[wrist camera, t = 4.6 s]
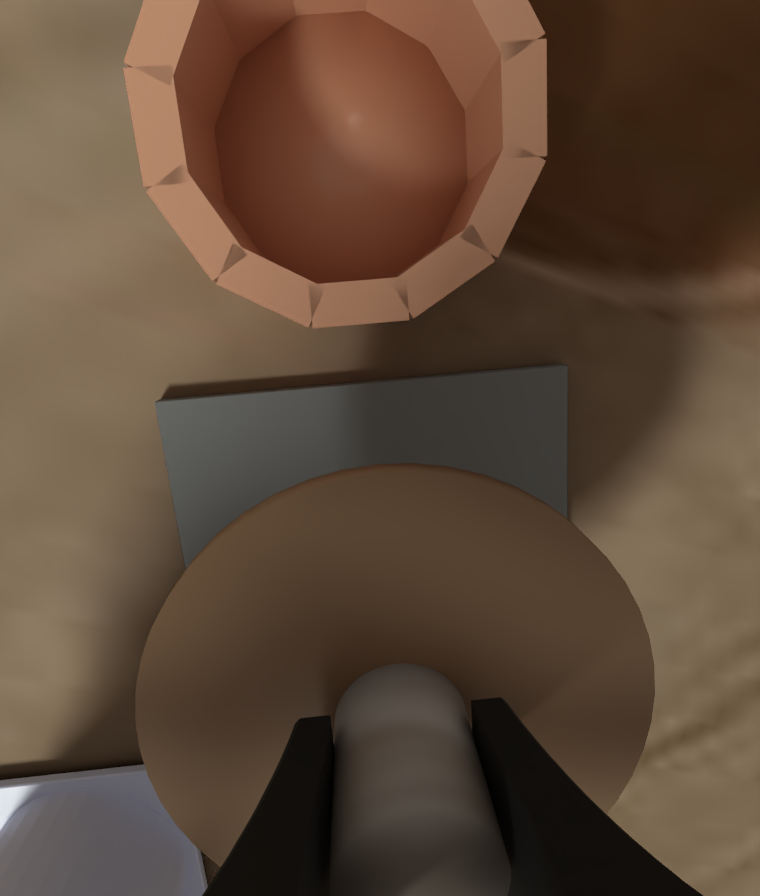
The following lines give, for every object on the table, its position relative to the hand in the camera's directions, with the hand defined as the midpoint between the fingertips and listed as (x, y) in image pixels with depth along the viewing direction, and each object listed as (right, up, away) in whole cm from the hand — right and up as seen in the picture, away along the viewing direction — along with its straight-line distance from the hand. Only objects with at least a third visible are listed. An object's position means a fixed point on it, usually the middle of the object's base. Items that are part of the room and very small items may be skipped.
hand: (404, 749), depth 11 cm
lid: (0, 0, +1) cm, 2 cm away
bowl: (-2, +14, +5) cm, 15 cm away
